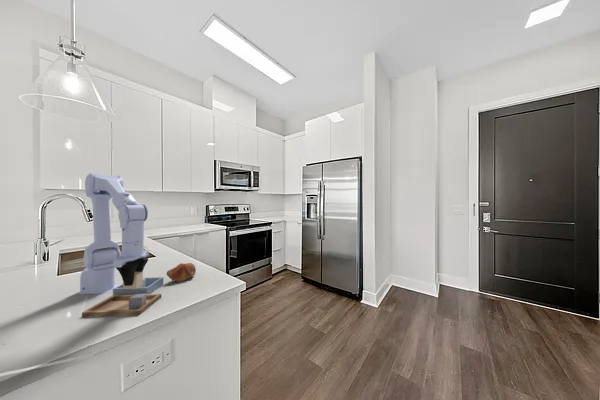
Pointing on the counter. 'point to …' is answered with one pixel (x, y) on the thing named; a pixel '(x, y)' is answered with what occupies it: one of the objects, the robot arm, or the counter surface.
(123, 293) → the dish
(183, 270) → the bread loaf
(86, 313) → the tray
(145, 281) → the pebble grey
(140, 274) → the cream cube
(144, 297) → the matte stone cube
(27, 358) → the counter surface
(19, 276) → the counter surface
